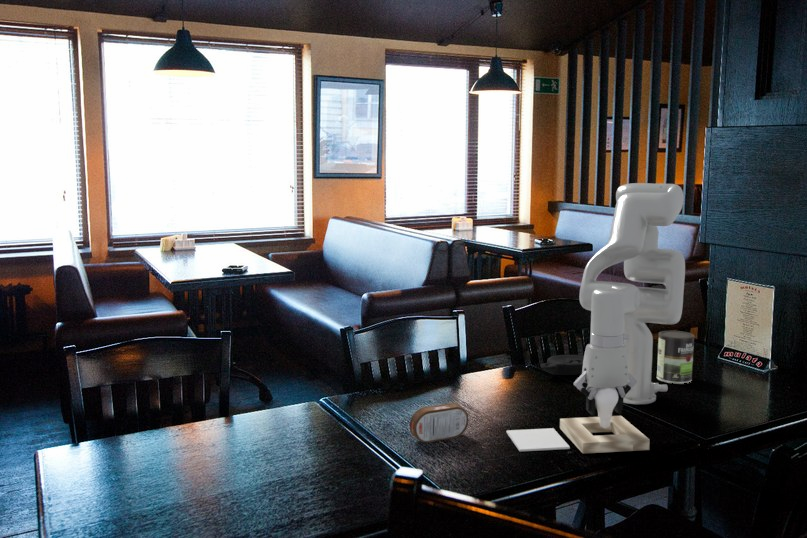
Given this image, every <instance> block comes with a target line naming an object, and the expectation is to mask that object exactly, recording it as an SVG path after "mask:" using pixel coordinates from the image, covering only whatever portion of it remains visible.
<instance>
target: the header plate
mask: <svg viewBox="0 0 807 538" xmlns="http://www.w3.org/2000/svg"><path fill="white" fill-rule="evenodd" d="M599 423H600V422H599V417H598V416H588V417H569V418H568V417H566V418H559V429H560V430H561V431H562V432H563V434H564V435H565V436H566V437H567V438H568V439H569V440H570V441H571V442H572V444H574V446H575V447H576V448H577V449H578V450H579V451H580V453H582V454H596V453H598V454H600V453H615V452H634V451H635V452H636V451H650V438H649V437H647V436H646V435H645V434H644V433H642V432H641V431H640V430H639V429H638V428H637V427H635V426H634V425H633V424H631V422H630V421H628V420H627V419H626V418H625V417H623V416H622V415H612V418H611V422H610V426H609V427H607V428H603V427H602V426H600V424H599ZM593 433H595V434H596V433H613V434H604V435H602V434H601V435H593Z"/></svg>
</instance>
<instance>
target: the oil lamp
mask: <svg viewBox="0 0 807 538" xmlns="http://www.w3.org/2000/svg"><path fill="white" fill-rule="evenodd" d="M583 360H584V355H581V354H558V355H553V356H550V357H548V358H547V360H546V363H544V362H543V363H540V365H539V366H540V368H541V369H542V370H543V371H545V372H547V373H549V374H552V375H556V376H557V375H558V376H576V375H581V374H582V368H583Z"/></svg>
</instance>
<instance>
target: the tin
mask: <svg viewBox="0 0 807 538" xmlns="http://www.w3.org/2000/svg"><path fill="white" fill-rule="evenodd" d="M469 419H470V418H469V414H468V412H467V410H465V408H464V407H463V406H462V405H460V404H458V403H455V402H450V403H443V404H438V405H430V406H424V407H421V408H419V409H417V410H416V411H415V412H414V413H413V414H412V417H411V418H410V421H409V431H410V433H411V435H412V436H413V437H414V438H416V440H418V441H420V442H422V443H426V444H427V443H433V442H434V443H435V442H438V441H445V440H451V439H456V438H459V437H460V436H462V434H464V433H465V432H466V430H467V428H468V425H469V421H470V420H469Z"/></svg>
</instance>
